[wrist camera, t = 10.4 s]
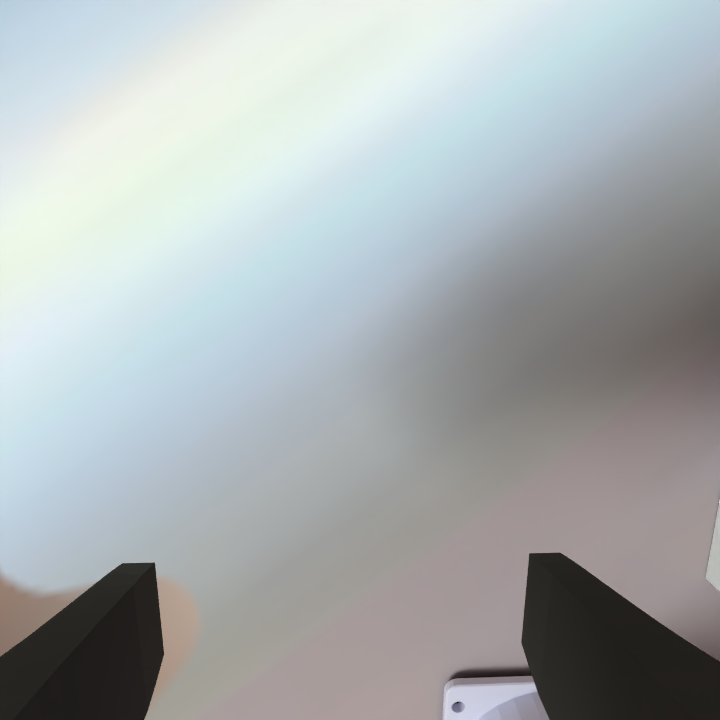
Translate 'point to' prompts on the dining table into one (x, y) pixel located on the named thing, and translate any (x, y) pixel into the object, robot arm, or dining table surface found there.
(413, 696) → the dining table surface
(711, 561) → the socket plate
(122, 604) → the robot arm
